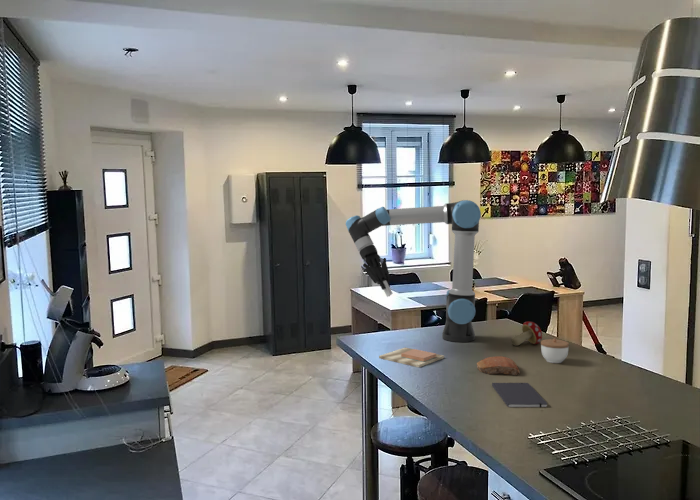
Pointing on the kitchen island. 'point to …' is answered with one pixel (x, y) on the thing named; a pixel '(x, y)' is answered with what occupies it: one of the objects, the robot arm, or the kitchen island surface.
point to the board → (396, 357)
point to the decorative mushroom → (528, 334)
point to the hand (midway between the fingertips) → (389, 295)
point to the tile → (418, 355)
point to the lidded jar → (554, 350)
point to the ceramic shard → (498, 366)
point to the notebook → (519, 395)
